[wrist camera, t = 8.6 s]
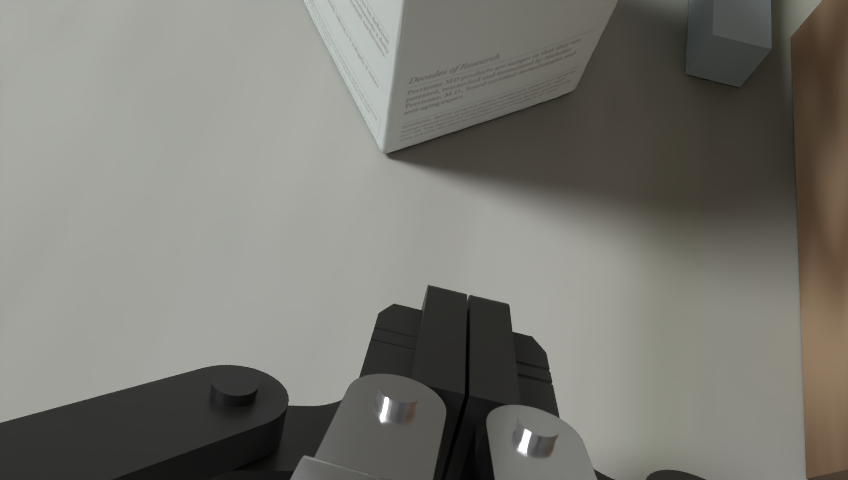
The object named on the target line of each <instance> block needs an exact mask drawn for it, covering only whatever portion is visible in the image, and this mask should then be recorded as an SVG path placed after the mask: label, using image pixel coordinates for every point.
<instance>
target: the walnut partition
mask: <svg viewBox="0 0 848 480" xmlns="http://www.w3.org/2000/svg"><path fill="white" fill-rule="evenodd" d="M791 56H792V84H793V112H794V141H795V169H796V197H797V225H798V253H799V282H800V310H801V338H802V366H803V394H804V423H805V451H806V478H807V479H811V480H848V0H822V1H821V3H820V4H819V5H818V6H817V7H816V8H815V10H814V11H813V12H812V13H811V14H810V16H809V17H808V18H807V19H806V20H805V21H804V23H803V24H802V25H801V26H800V27H799V28H798V30H797V31H796V32H795V33H794V34H793V36H792V37H791Z"/></svg>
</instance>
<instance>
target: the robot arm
mask: <svg viewBox="0 0 848 480" xmlns="http://www.w3.org/2000/svg"><path fill="white" fill-rule="evenodd" d="M288 402H289V398H288V394H287V391H286V389H285V388H284V386H283V385H282V384H281V383H280V382H279V381H278V380H276V379H275V378H273V377H272V376H270V375H268V374H266V373H264V372H262V371H259V370H256V369H253V368H249V367H243V366H235V365H218V366H210V367H205V368H201V369H198V370H194V371H190V372H187V373H183V374H179V375H176V376H172V377H168V378H164V379H161V380H157V381H153V382H150V383H146V384H142V385H139V386H135V387H131V388H128V389H124V390H120V391H116V392H113V393H109V394H105V395H102V396H98V397H94V398H91V399H87V400H83V401H80V402H76V403H72V404H69V405H65V406H61V407H57V408H54V409H50V410H46V411H43V412H39V413H35V414H32V415H28V416H24V417H21V418H17V419H13V420H9V421H6V422H2V423H0V480H614V479H612V478H609V477H607V476H605V475H603V474H601V473H600V472H598V471H596V470H595V469H593V467H592V464H591V461H590V458H589V456H588V453H587V450H586V447H585V445H584V442H583V440H582V438H581V437H580V436H579V434H578V433H577V432H576V431H575V430H574V429H573V428H572V427H571V426H570V425H568V424H567V423H566V422H564V421H563V420H561V419H560V417H559V413H558V408H557V403H556V398H555V393H554V388H553V385H552V379H551V374H550V372H549V364H548V359H547V354H546V352H545V351H544V350H543V349H542V348H541V346H540V345H539V344H538V343H537V342H536V341H535V339H534V338H533V337H532V336H527V335H523V334H519V333H515V332H512V324H511V316H510V307H509V304H506V303H502V302H498V301H493V300H489V299H485V298H481V297H477V296H472V295H469V297H468V300H467V294H464V293H459V292H455V291H451V290H447V289H443V288H439V287H434V286H430V285H428V287H427V290H426V294H425V298H424V302H423V306H422V310H418V309H414V308H410V307H406V306H401V305H397V304H393V305H391V306H389V307H388V308H386V309H385V310H383V311H381V312H380V313H379V314H378V317H377V321H376V324H375V327H374V331H373V334H372V337H371V341H370V344H369V347H368V350H367V353H366V357H365V360H364V363H363V367H362V370H361V373H360V376H359V378H358V379H356V380H355V381H353V382H352V383H351V384H350V386H349V387H348V389H347V391H346V393H345V395H344V397H343V399H342V400H341V401H338V402H335V403H332V404H327V405H321V406H288ZM646 480H705V479H703V478H700V477H698V476H695V475H692V474H689V473H686V472H681V471H676V470H660V471H656V472H654V473H652V474H650V475H649V476H648V477H647V479H646Z"/></svg>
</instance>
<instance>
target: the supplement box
mask: <svg viewBox="0 0 848 480" xmlns="http://www.w3.org/2000/svg"><path fill="white" fill-rule="evenodd" d="M303 1H304V2H305V4H306V7H307V9H308V11H309V13H310V15H311V17H312V19H313V21H314V23H315V25H316V27H317V29H318V31H319V33H320V35H321V36H322V38H323V40H324V42H325V44H326V46H327V48H328V50H329V52H330V54H331V56H332V58H333V60H334V61H335V63H336V65H337V67H338V69H339V71H340V73H341V75H342V77H343V79H344V81H345V83H346V85H347V86H348V88H349V90H350V92H351V94H352V96H353V98H354V100H355V102H356V104H357V106H358V108H359V109H360V111H361V113H362V115H363V117H364V119H365V121H366V123H367V125H368V127H369V128H370V130H371V132H372V134H373V136H374V138H375V140H376V142H377V144H378V146H379V148H380V150H381V151H382V153H389V152H393V151H396V150H400V149H403V148H406V147H409V146H412V145H415V144H419V143H422V142H424V141H427V140H430V139H433V138H436V137H439V136H442V135H445V134H448V133H451V132H455V131H458V130H461V129H464V128H467V127H470V126H473V125H475V124H479V123H482V122H485V121H488V120H491V119H495V118H497V117H500V116H503V115H506V114H509V113H512V112H515V111H518V110H521V109H524V108H527V107H530V106H533V105H536V104H538V103H542V102H546V101H548V100H551V99H554V98H557V97H559V96H562V95H564V94H566V93H569V92H571V91H573V90H574V89H576V87H577V85H578V83H579V81H580V79H581V77H582V74H583V72H584V70H585V68H586V66H587V64H588V62H589V60H590V58H591V55H592V53H593V52H594V50H595V48H596V46H597V44H598V42H599V40H600V38H601V35H602V33H603V31H604V29H605V27H606V25H607V23H608V21H609V19H610V17H611V15H612V13H613V11H614V9H615V7H616V4H617V2H618V0H303Z"/></svg>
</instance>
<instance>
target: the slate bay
mask: <svg viewBox="0 0 848 480" xmlns="http://www.w3.org/2000/svg"><path fill="white" fill-rule="evenodd" d="M771 50H772V32H771V0H689V8H688V27H687V46H686V65H685V74H688V75H692V76H696V77H700V78H704V79H708V80H712V81H716V82H720V83H724V84H728V85H732V86H736V87H741V86H742V85H743V83H744V82H745V81H746V80H747V79H748V77H749V76H750V75H751V74H752V73H753V71H754V70H755V69H756V68H757V67H758V65H759V64H760V63H761V62H762V61H763V59H764V58H765V57H766V56H767V55H768V53H769V52H770V51H771Z"/></svg>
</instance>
